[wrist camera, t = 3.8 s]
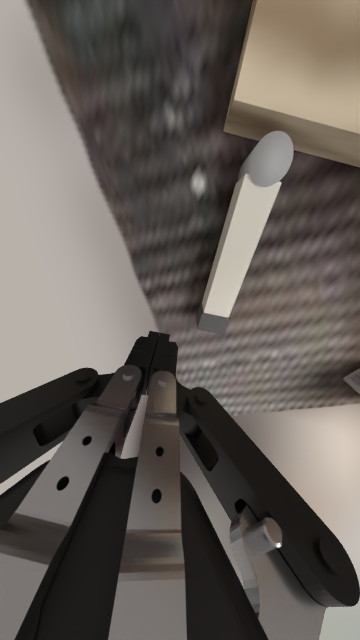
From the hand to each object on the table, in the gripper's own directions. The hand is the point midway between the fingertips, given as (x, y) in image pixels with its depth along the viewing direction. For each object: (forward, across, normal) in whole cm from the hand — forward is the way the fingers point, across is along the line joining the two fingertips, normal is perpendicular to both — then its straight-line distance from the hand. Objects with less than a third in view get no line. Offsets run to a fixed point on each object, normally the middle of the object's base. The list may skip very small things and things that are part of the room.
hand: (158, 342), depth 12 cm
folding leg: (+12, -6, -6) cm, 14 cm away
